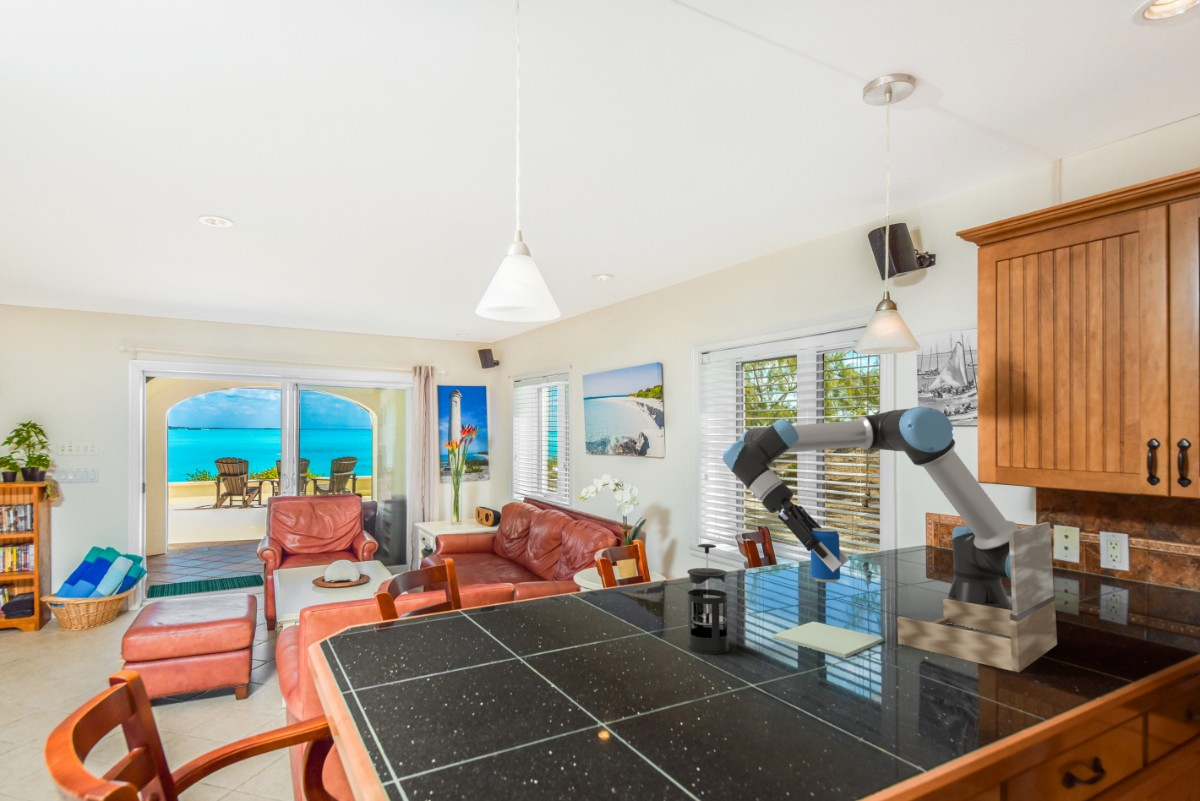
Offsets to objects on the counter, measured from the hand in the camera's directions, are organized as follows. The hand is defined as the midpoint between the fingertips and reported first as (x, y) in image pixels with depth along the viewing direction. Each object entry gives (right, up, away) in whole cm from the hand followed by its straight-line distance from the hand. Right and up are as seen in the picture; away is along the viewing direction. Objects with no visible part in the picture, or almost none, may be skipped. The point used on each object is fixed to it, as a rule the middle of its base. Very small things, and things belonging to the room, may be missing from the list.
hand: (841, 565), depth 145 cm
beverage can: (-3, -4, +2) cm, 5 cm away
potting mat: (-3, -18, +1) cm, 18 cm away
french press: (-32, -17, -5) cm, 37 cm away
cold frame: (+31, -18, -2) cm, 36 cm away
